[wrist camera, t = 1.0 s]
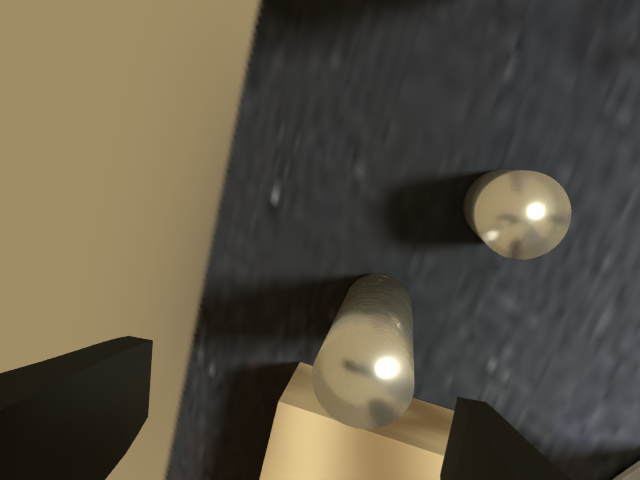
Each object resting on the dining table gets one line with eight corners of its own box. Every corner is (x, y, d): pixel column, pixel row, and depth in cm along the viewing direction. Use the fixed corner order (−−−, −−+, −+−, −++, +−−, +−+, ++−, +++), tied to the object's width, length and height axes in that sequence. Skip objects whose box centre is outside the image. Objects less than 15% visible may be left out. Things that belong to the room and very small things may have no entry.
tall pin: (426, 306, 22) (436, 385, 14) (378, 350, 22) (363, 448, 15) (377, 259, 22) (360, 311, 14) (331, 305, 23) (291, 378, 15)
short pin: (555, 204, 20) (591, 214, 16) (500, 256, 21) (520, 277, 17) (502, 154, 20) (524, 151, 16) (448, 207, 21) (457, 216, 17)
